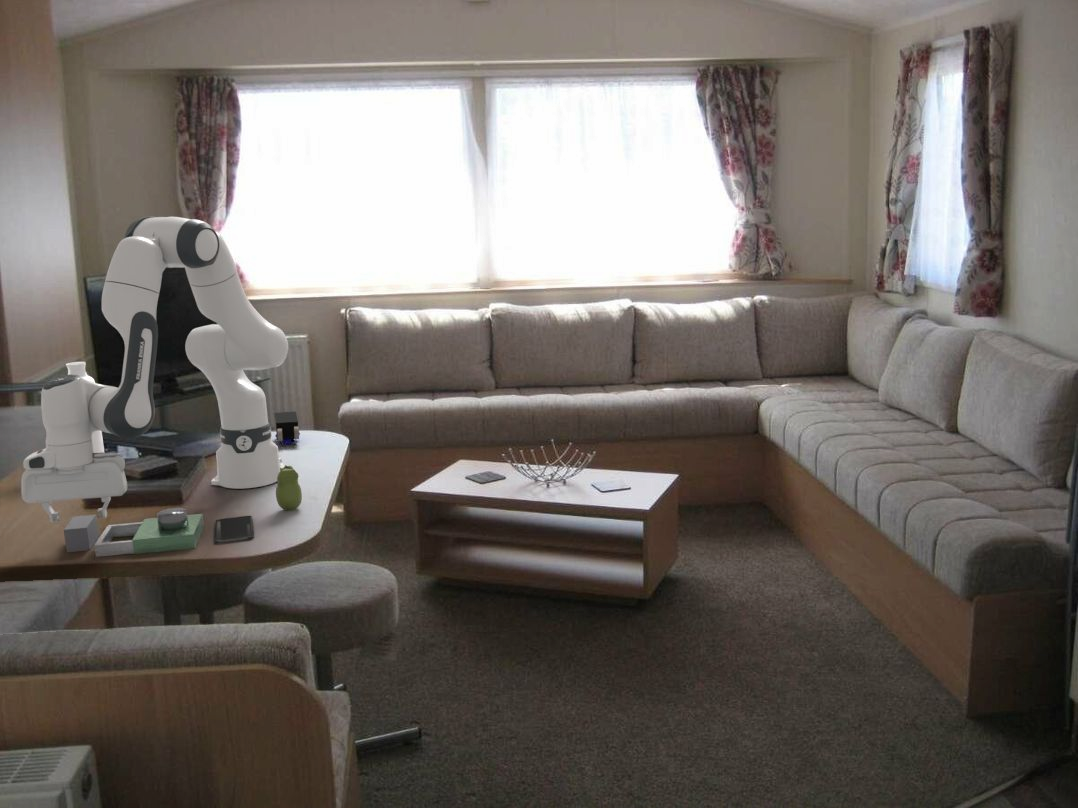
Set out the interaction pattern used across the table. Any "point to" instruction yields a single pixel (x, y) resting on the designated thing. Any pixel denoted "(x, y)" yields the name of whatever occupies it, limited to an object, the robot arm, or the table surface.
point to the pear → (288, 489)
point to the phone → (234, 529)
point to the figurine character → (286, 427)
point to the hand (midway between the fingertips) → (78, 519)
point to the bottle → (79, 370)
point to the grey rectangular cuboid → (81, 533)
